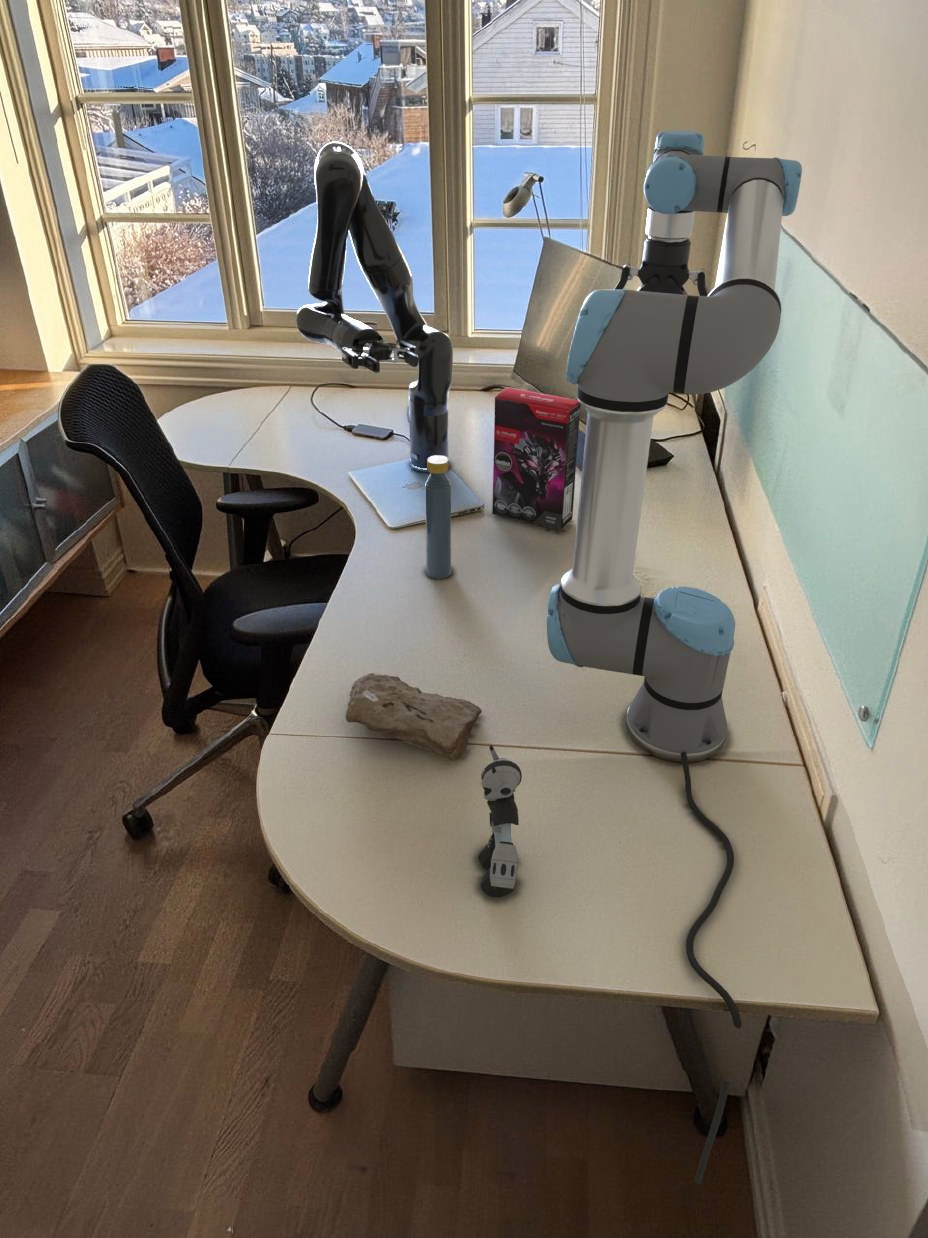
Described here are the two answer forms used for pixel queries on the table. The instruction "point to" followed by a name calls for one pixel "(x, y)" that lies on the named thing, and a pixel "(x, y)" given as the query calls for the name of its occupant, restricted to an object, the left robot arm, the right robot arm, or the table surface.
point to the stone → (412, 714)
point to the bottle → (438, 525)
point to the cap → (437, 464)
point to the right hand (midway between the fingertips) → (652, 364)
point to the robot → (500, 825)
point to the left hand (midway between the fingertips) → (397, 364)
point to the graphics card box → (535, 457)
